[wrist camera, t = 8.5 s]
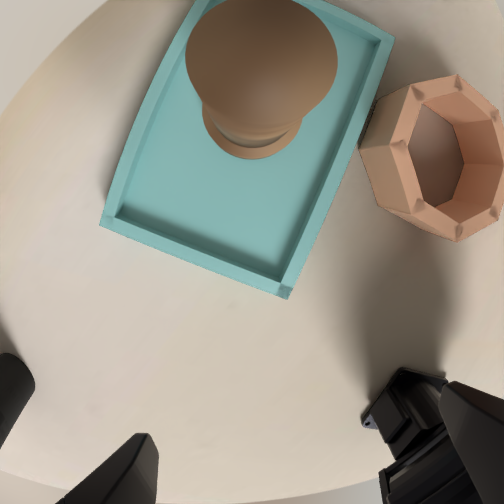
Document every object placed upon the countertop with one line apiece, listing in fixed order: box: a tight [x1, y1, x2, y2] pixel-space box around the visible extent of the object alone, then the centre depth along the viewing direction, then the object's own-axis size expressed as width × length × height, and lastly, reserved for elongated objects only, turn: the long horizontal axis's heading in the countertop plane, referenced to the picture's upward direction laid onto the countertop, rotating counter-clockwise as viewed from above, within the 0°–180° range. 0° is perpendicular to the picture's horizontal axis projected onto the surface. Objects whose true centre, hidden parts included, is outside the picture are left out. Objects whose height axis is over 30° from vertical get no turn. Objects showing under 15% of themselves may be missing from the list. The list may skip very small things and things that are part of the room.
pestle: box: [185, 0, 338, 160], centre depth 12 cm, size 5×5×10 cm
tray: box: [99, 0, 395, 300], centre depth 17 cm, size 12×18×2 cm, turn 157°
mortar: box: [359, 74, 504, 243], centre depth 17 cm, size 9×9×4 cm
